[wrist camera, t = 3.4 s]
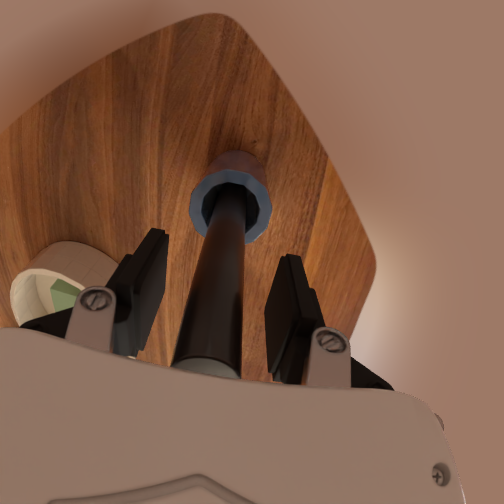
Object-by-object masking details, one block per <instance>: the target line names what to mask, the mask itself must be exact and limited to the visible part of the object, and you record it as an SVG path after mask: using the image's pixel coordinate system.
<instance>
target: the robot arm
mask: <svg viewBox="0 0 504 504" xmlns="http://www.w3.org/2000/svg"><path fill="white" fill-rule="evenodd" d="M168 243H169V234H165V230H161V229H156V228H151V229H150V231H149V232H148V234H147V235H146V237H145V238H144V240H143V241H142V242H141V244H140V245H139V247H138V248H137V250H136V251H135V253H134V254H133V255H131V254H126V255H125V257H124V258H123V260H122V261H121V263H120V264H119V265H118V267H117V268H116V270H115V271H114V273H113V274H112V276H111V277H110V279H109V281H108V282H107V284H106V285H105V287H104V286H91V287H87V288H85V289H83V290H82V291H81V292H80V293H79V294H78V296H77V297H76V300H75V304H74V307H71V308H68V309H64V310H61V311H58V312H55V313H51V314H48V315H45V316H42V317H38V318H35V319H32V320H29V321H27V322H25V323H23V324H22V325H21V326H20V327H19V328H15V327H3V328H0V504H466V502H465V497H464V493H463V490H462V486H461V482H460V478H459V474H458V471H457V468H456V464H455V461H454V458H453V455H452V452H451V449H450V447H449V444H448V441H447V439H446V436H445V434H444V425H443V422H442V420H441V418H440V417H439V416H438V415H436V414H435V413H434V412H433V411H432V409H431V408H430V407H429V406H428V405H427V404H426V403H425V402H423V401H422V400H420V399H418V398H416V397H414V396H411V395H408V394H405V393H401V392H397V391H394V389H393V388H392V386H391V385H390V384H389V383H387V382H386V381H385V380H383V379H382V378H380V377H379V376H378V375H376V374H375V373H373V372H371V371H370V370H369V369H368V368H366V367H365V366H363V365H362V364H361V363H359V362H358V361H356V360H355V359H354V358H352V357H351V356H350V355H351V353H350V343H349V340H348V339H347V337H346V336H345V335H344V334H343V333H341V332H340V331H338V330H336V329H334V328H330V327H326V326H325V322H324V319H323V316H322V312H321V309H320V305H319V302H318V299H317V295H316V292H315V290H314V289H313V288H309V284H308V281H307V277H306V274H305V270H304V267H303V264H302V260H301V257H300V256H297V255H292V254H286V256H285V257H284V256H281V258H280V261H279V264H278V268H277V271H276V274H275V277H274V280H273V283H272V287H271V290H270V293H269V296H268V299H267V302H266V305H265V311H264V315H265V331H266V348H267V365H268V373H272V377H273V381H276V382H282V383H284V384H281V383H271V382H261V381H253V380H245V379H237V378H230V377H223V376H216V375H210V374H204V373H199V372H193V371H188V370H182V369H177V368H172V367H168V366H163V365H158V364H154V363H149V362H145V361H141V360H137V359H133V358H129V357H127V356H131V357H135V358H136V357H137V354H138V351H139V350H141V351H143V350H144V347H145V345H146V342H147V339H148V336H149V333H150V330H151V327H152V325H153V322H154V319H155V316H156V314H157V311H158V308H159V306H160V303H161V300H162V298H163V295H164V291H165V282H166V268H167V255H168Z"/></svg>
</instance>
